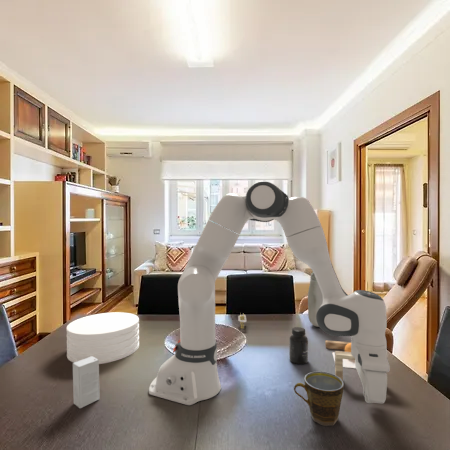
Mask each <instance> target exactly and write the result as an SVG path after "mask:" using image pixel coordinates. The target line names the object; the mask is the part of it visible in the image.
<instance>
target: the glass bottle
mask: <svg viewBox="0 0 450 450" xmlns="http://www.w3.org/2000/svg"><path fill="white" fill-rule="evenodd" d="M309 280H310V281H309V286H308V291H307V314H308V320H309V323H311V325H312V326H314V327H317V328H320V327H319V326H318V323H317V320H316V314H317V311H318V310H319V308H320V306H321V305H322V303H323V295H322V292H321V289H320V287H319V285H318V282H317V280H316V277H315V275H314V273H313V271H312V272H311V274H310V279H309Z"/></svg>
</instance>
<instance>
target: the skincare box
mask: <svg viewBox="0 0 450 450" xmlns="http://www.w3.org/2000/svg"><path fill="white" fill-rule="evenodd" d="M72 386H73V391H72V392H73V405H75V406H76V407H77V408H78V409H83V408H84V407H86V406H89V405H90V404H93V403H94V402H96V401H99V400H100V399H101V398H100V397H101V395H100V394H101V393H100V364H99V360H98V359H96V358H95V357H93V356H91V357H88V358H86V359H83V360H80V361H77V362H75V363H74V362H72Z"/></svg>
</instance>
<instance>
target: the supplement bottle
mask: <svg viewBox="0 0 450 450" xmlns="http://www.w3.org/2000/svg"><path fill="white" fill-rule="evenodd" d="M291 328H292V329H291V335H290V337H289V349H288V350H289V351H288V352H289V361H290V362H291V363H292V364H295V365H305V364H307V363H308V362H309V339H308V337H307V336H306V328H304V327H299V326H295V327H291Z"/></svg>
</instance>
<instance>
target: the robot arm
mask: <svg viewBox="0 0 450 450" xmlns="http://www.w3.org/2000/svg"><path fill="white" fill-rule="evenodd" d="M274 220H275V221H276V222H278V223H279V224H280V226H281V228H282V230H283V233H284V235H285V238H286V241H287V244H288V246H289V248H290V250H291V252H292V254H293V256H294V257H295V258H296V259H297V260H299V261H300V262H302V263H303V264H305V265H306V266H308V267H309V268H310V270H311V271H312V272H313V273H314V275H315V277H316V280H317V282H318V285H319V287H320V289H321V292H322V295H323V303H322V305H321V306H320V308H319V310H318V311H317V314H316V320H317V323H318V326H319V327H318V328H320V330H321V331H322V332H324V333H325V334H326V335H329V336H331V337H350V342H351V355H352V356H353V357H354V358H355V367H356V369H355V370H356V372H357V374H358V377H359V378H360V379H359V380H360V382H361V384H362V390H363V391H362V392H363V399H364V401H365V403H367V404H373V403H375V404H385V402H386V399H387V389H388V374H387V373H389V372H390V369H391V366H390V363H389V362H390V361H389V358H388V350H387V347H388V346H387V343H388V341H387V337H386V330H387V322H388V318H387V307H386V303H385V301H384V299H383V297H381V296H380V295H379V294H378V293H375V292H372V291H368V290H365V289H364V290H363V289H362V290H361V289H358V290H357V289H356V290H354V292H352V293H350V294H348V293H347V292H345V289H343V287H342V285H341V283H340V280H339V278H338V276H337V273H336V271H335V268H334V266H333V264H332V261H331V255H330V252H329V247H328V243H327V239H326V236H325V235H326V234H325V231H324V228H323V226H322V223H321V221H320V219H319V217H318V214H317V213H316V211H315V209H314V207H313V206H312V204H311V203H310V201H309V200H308V199H307V197H304V196H293V197H289V196H288V194H286V193H285V192H284V191H283V190H281V189H280V188H279V187H278V186H277V185H276V184H274V183H272V182H270V181H266V180H263V181H258V182H255V183H253V184H251V186H250V187H249V188H248V189H247V191H246V194H245V196H241V195H238V194H236V193H227V194H224V195H223V197H221V198H220V200H219V201H218V202H217V204H216V205H215V207H214V209H213V210H212V212H211V214H210V216H209V218H208V220H207V222H206V224H205V225H204V228H203V229H202V232H201V234H200V236H199V238H198V240H197V242H196V245H195V247H194V249H193V251H192V253H191V255H190V257H189V259H188V260H187V261H188V262H187V263H186V265H185V268H184V270H183V271H182V273H181V275H180V277H179V279H178V283H177V296H178V298H177V299H178V300H177V301H178V308H179V309H178V311H179V328H180V331H179V332H180V333H179V335H180V337H179V338H180V339H179V340H178V341H177V343H176V344H175V346H174V348H173V349H172V353H173V355H171V357H169V358H168V359H167V360H165V361H164V362H163V363H162V364H161V365H160V367H159V369H158V371H157V374H156V377H155V378H154V379H153V380H152V381H151V383H150V385H149V386H148V395H150V396H155V397H158V398H162V399H165V400H169V401H172V402H174V403H179V404H183V405H186V406H193V405H194V404H196V403H197V402H200V401H204V400H208V399H212V398H213V397H215V396H217V394H219V393H220V391H221V390H222V385H221V381H220V378H219V377H220V376H219V373H218V372H219V371H218V365H217V360H218V346H217V345H218V343H217V341H216V281H217V279H218V276H219V275H220V274H221V271H222V269H223V268H224V266H225V263H226V262H227V261H228V259H229V257H230V256H231V253H232V252H233V250H234V247H235V245H236V243H237V241H238V240H239V237H240V235H241V233H242V230H243V228H244V227H245V225H246V224H247V222H248V221H253V222H254V221H255V222H261V223H268V222H272V221H274ZM174 353H175V354H174Z"/></svg>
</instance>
